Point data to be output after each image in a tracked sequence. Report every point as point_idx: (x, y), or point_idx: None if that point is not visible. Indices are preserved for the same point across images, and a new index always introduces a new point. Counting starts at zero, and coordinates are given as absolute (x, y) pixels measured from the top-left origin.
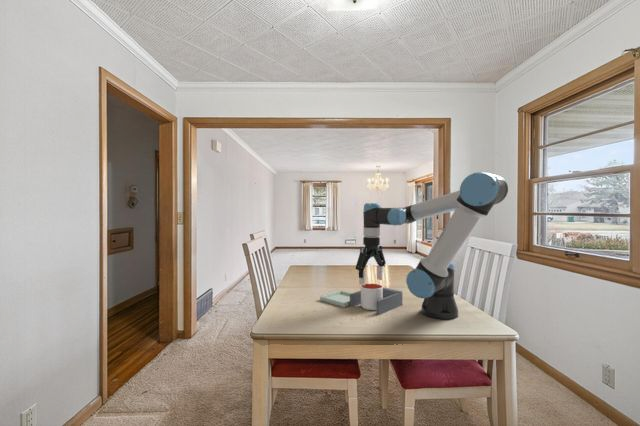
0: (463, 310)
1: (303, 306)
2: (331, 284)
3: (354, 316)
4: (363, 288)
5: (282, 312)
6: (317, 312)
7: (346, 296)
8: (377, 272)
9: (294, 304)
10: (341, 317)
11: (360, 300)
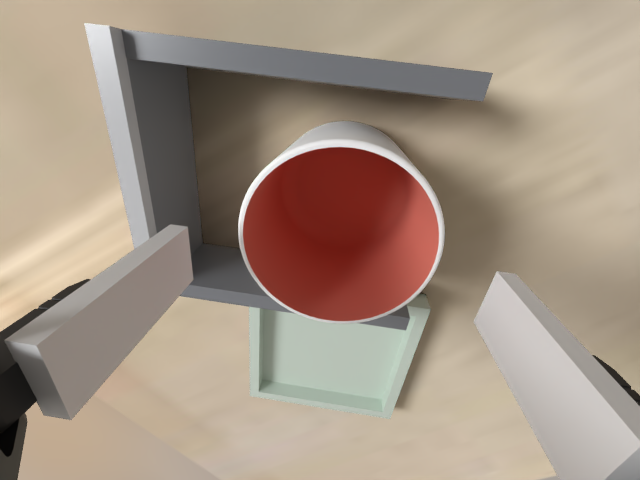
0: None
1: (492, 412)
2: (179, 445)
3: (542, 192)
4: (431, 276)
5: None
6: None
7: (281, 351)
8: (145, 323)
9: (483, 440)
10: (585, 238)
11: None
